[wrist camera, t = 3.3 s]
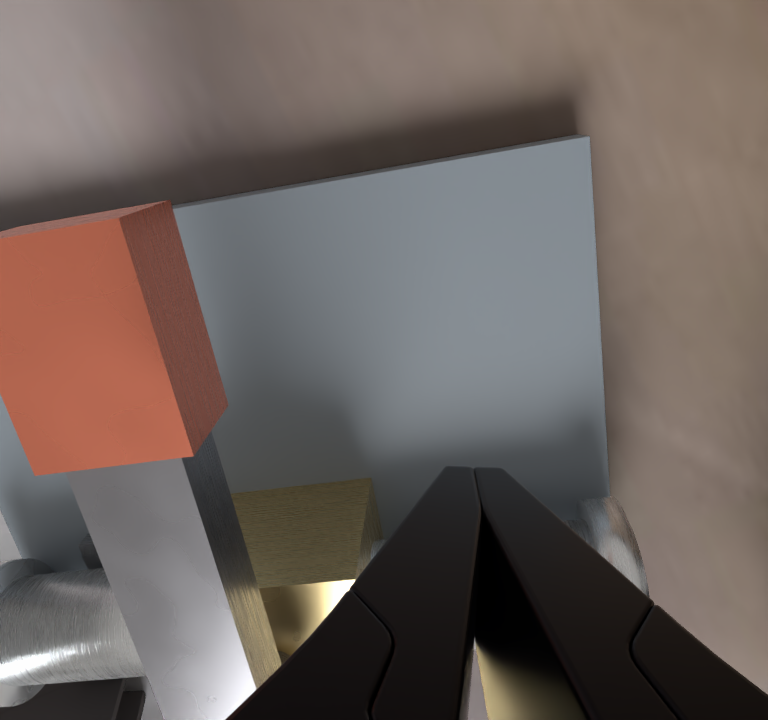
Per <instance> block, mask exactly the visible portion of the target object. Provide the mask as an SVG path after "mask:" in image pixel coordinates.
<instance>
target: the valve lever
mask: <svg viewBox="0 0 768 720" xmlns="http://www.w3.org/2000/svg"><path fill="white" fill-rule="evenodd" d="M0 394H1V397H2V399H3V402H4V404H5V406H6V409H7V411H8V413H9V416H10V418H11V421H12V423H13V425H14V428H15V430H16V433H17V435H18V437H19V440H20V442H21V444H22V447H23V449H24V452H25V454H26V456H27V459H28V461H29V464H30V466H31V468H32V471H33V473H34V475H35V476H38V475H46V474H55V473H63V472H65V473H66V476H67V478H68V481H69V483H70V486H71V488H72V491H73V493H74V496H75V498H76V501H77V503H78V506H79V508H80V511H81V513H82V516H83V518H84V521H85V523H86V526H87V528H88V531H89V533H90V536H91V538H92V541H93V543H94V546H95V548H96V551H97V553H98V556H99V558H100V561H101V563H102V566H103V568H104V571H105V573H106V576H107V578H108V581H109V583H110V586H111V588H112V591H113V593H114V596H115V598H116V601H117V603H118V606H119V608H120V611H121V613H122V616H123V618H124V621H125V623H126V626H127V628H128V631H129V633H130V636H131V638H132V641H133V643H134V646H135V648H136V651H137V653H138V656H139V658H140V661H141V663H142V666H143V668H144V671H145V673H146V676H147V678H148V681H149V683H150V686H151V688H152V691H153V693H154V696H155V698H156V701H157V703H158V706H159V708H160V711H161V713H162V716H163V718H164V720H225V719H226V718H227V717H228V716H229V715H230V714H231V713H232V712H234V711H235V710H236V709H237V708H238V707H239V706H240V705H241V704H242V703H243V702H244V701H245V700H246V699H247V698H248V697H249V696H250V695H251V694H252V693H253V692H254V691H255V690H256V689H257V688H258V687H259V686H260V685H262V684H263V683H264V682H265V681H266V680H267V679H268V678H269V677H270V676H271V675H272V674H273V673H274V672H275V671H276V670H277V669H278V668H279V667H280V666H281V665H282V664H281V661H280V657H279V654H278V651H277V647H276V644H275V641H274V637H273V634H272V631H271V627H270V624H269V621H268V617H267V614H266V611H265V607H264V604H263V601H262V597H261V594H260V591H259V587H258V584H257V581H256V577H255V574H254V571H253V567H252V564H251V561H250V557H249V554H248V551H247V547H246V544H245V541H244V537H243V534H242V530H241V527H240V524H239V520H238V517H237V514H236V510H235V507H234V504H233V500H232V497H231V494H230V490H229V487H228V484H227V480H226V477H225V474H224V470H223V467H222V464H221V460H220V457H219V454H218V450H217V447H216V444H215V440H214V437H213V434H212V429H213V427H214V426H215V424H216V423H217V421H218V420H219V418H220V417H221V416H222V414H223V413H224V411H225V410H226V408H227V407H228V401H227V398H226V394H225V391H224V387H223V384H222V380H221V377H220V373H219V370H218V366H217V363H216V359H215V356H214V352H213V349H212V345H211V342H210V338H209V335H208V331H207V328H206V324H205V321H204V317H203V313H202V310H201V306H200V303H199V299H198V296H197V292H196V289H195V285H194V282H193V278H192V275H191V271H190V268H189V264H188V261H187V257H186V254H185V250H184V247H183V243H182V240H181V236H180V233H179V229H178V226H177V222H176V219H175V215H174V212H173V208H172V204H171V201H170V200H166V201H161V202H155V203H149V204H144V205H138V206H132V207H127V208H121V209H115V210H110V211H104V212H98V213H93V214H87V215H81V216H76V217H70V218H64V219H59V220H53V221H47V222H42V223H36V224H30V225H25V226H19V227H15V228H12V229H8V230H5V231H1V232H0Z"/></svg>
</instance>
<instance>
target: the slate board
mask: <svg viewBox="0 0 768 720" xmlns="http://www.w3.org/2000/svg"><path fill="white" fill-rule="evenodd" d="M172 208H173V212H174V215H175V219H176V222H177V226H178V229H179V233H180V236H181V240H182V243H183V247H184V250H185V254H186V257H187V261H188V264H189V268H190V271H191V275H192V278H193V282H194V285H195V289H196V292H197V296H198V299H199V303H200V306H201V310H202V313H203V317H204V321H205V324H206V328H207V331H208V335H209V338H210V342H211V345H212V349H213V352H214V356H215V359H216V363H217V366H218V370H219V373H220V377H221V380H222V384H223V387H224V391H225V394H226V398H227V401H228V407H227V408H226V410H225V411H224V413H223V414H222V416H221V417H220V418H219V420H218V421H217V423H216V424H215V426H214V427H213V429H212V434H213V437H214V440H215V444H216V447H217V450H218V454H219V457H220V460H221V464H222V467H223V470H224V474H225V477H226V480H227V484H228V487H229V490H230V494H232V493H241V492H249V491H258V490H267V489H275V488H284V487H293V486H302V485H310V484H319V483H328V482H336V481H345V480H354V479H363V478H371V479H372V484H373V489H374V493H375V498H376V503H377V508H378V513H379V518H380V522H381V527H382V532H383V537H384V539H388V538H389V537H390V535H391V534H392V533H393V532H394V530H395V529H396V528H397V526H398V525H399V524H400V523H401V521H402V520H403V519H404V517H405V516H406V515H407V514H408V512H409V511H410V510H411V508H412V507H413V506H414V505H415V503H416V502H417V501H418V500H419V498H420V497H421V496H422V494H423V493H424V492H425V491H426V489H427V488H428V487H429V485H430V484H431V483H432V482H433V480H434V479H435V478H436V476H437V475H438V474H439V473H440V471H441V470H442V469H443V468H444V467H445V466H448V465H450V466H470V467H472V468H475V467H500V468H503V469H504V470H506V471H507V472H508V473H509V474H510V475H511V476H512V477H514V478H515V479H516V480H517V481H518V482H519V483H520V484H522V485H523V486H524V487H525V488H526V489H527V490H528V491H529V492H531V493H532V494H533V495H534V496H535V497H536V498H537V499H538V500H540V501H541V502H542V503H543V504H544V505H545V506H546V507H548V508H549V509H550V510H551V511H552V512H553V513H554V514H555V515H557V516H558V517H559V518H560V519H561V520H562V521H566V520H576V519H577V518H576V513H577V503H578V501H579V500H583V499H593V498H602V497H610V487H609V469H608V452H607V434H606V416H605V399H604V381H603V364H602V346H601V328H600V311H599V293H598V275H597V258H596V240H595V223H594V205H593V187H592V170H591V152H590V136H585V135H579V134H577V135H571V136H565V137H560V138H554V139H548V140H543V141H537V142H531V143H525V144H520V145H514V146H508V147H503V148H497V149H491V150H486V151H480V152H474V153H468V154H463V155H457V156H451V157H446V158H440V159H434V160H429V161H423V162H417V163H411V164H406V165H400V166H394V167H389V168H383V169H377V170H371V171H366V172H360V173H354V174H349V175H343V176H337V177H332V178H326V179H320V180H314V181H309V182H303V183H297V184H292V185H286V186H280V187H274V188H269V189H263V190H257V191H252V192H246V193H240V194H235V195H229V196H223V197H217V198H212V199H206V200H200V201H195V202H189V203H183V204H178V205H172ZM0 510H1V512H2V515H3V517H4V519H5V521H6V523H7V526H8V528H9V530H10V532H11V535H12V537H13V539H14V541H15V543H16V546H17V548H18V550H19V552H20V555H21V557H22V559H27V558H31V559H37V560H40V561H42V562H44V563H46V564H47V565H48V566H50V568H51V569H52V570H53V571H54V572H55V573H59V572H68V571H78V570H88V568H87V566H86V563H85V561H84V558H83V556H82V553H81V551H80V549H79V546H78V545H79V544H80V542H81V541H82V540H83V539H84V538H85V536H86V535H87V534H88V533H89V531H88V528H87V526H86V523H85V521H84V518H83V516H82V513H81V511H80V508H79V506H78V503H77V501H76V498H75V496H74V493H73V491H72V488H71V486H70V483H69V481H68V478H67V476H66V473H65V472H63V473H55V474H46V475H38V476H35V475H34V473H33V471H32V468H31V466H30V464H29V461H28V459H27V456H26V454H25V452H24V449H23V447H22V444H21V442H20V440H19V437H18V435H17V433H16V430H15V428H14V425H13V423H12V421H11V418H10V416H9V413H8V411H7V409H6V406H5V404H4V402H3V399H2V397H1V394H0Z"/></svg>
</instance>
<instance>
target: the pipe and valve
mask: <svg viewBox="0 0 768 720" xmlns="http://www.w3.org/2000/svg"><path fill="white" fill-rule="evenodd" d="M231 497H232V500H233V504H234V507H235V510H236V514H237V517H238V520H239V524H240V527H241V530H242V534H243V537H244V541H245V544H246V547H247V551H248V554H249V557H250V561H251V564H252V567H253V571H254V574H255V577H256V581H257V584H258V587H259V591H260V594H261V597H262V601H263V604H264V607H265V611H266V614H267V617H268V621H269V624H270V627H271V631H272V634H273V637H274V641H275V644H276V647H277V651H278V654H279V657H280V661H281V664H283V663H284V662H285V661H286V660H287V659H288V658H289V657H290V656H291V655H292V654H293V653H294V652H295V651H296V650H297V649H298V648H299V647H300V646H301V645H302V644H303V643H304V642H305V641H306V640H307V639H308V638H309V636H310V635H311V634H312V633H313V632H314V631H315V630H316V628H317V627H318V626H319V625H320V624H321V622H322V621H323V620H324V619H325V618H326V617H327V615H328V614H329V613H330V612H331V611H332V609H333V608H334V607H335V606H336V604H337V603H338V602H339V600H340V599H341V598H342V596H343V595H344V594H345V593H346V592H347V591H349V588H350V587H351V585H352V584H353V583H354V582H355V580H356V579H357V578H358V576H359V575H360V574H361V573H362V571H363V570H364V569H365V567H366V566H367V565H368V564H369V562H370V561H371V560H372V558H373V557H374V556H375V555H376V553H377V552H378V551H379V550H380V548H381V547H382V546H383V544H384V543H385V542H386V541H387V539H384V537H383V532H382V527H381V522H380V518H379V513H378V508H377V503H376V498H375V493H374V489H373V484H372V479H371V478H363V479H354V480H345V481H336V482H328V483H319V484H310V485H302V486H293V487H284V488H275V489H267V490H258V491H249V492H241V493H232V494H231ZM576 518H577V519H576V520H566V521H563V522H564V523H566V524H567V525H568V526H569V527H570V528H571V529H572V530H574V531H575V532H576V533H577V534H578V535H579V536H580V537H581V538H583V539H584V540H585V541H586V542H587V543H588V544H589V545H590V546H592V547H593V548H594V549H595V550H596V551H597V552H598V553H599V554H601V555H602V556H603V557H604V558H605V559H606V560H607V561H609V562H610V563H611V564H612V565H613V566H614V567H615V568H616V569H618V570H619V571H620V572H621V573H622V574H623V575H624V576H625V577H627V578H628V579H629V580H630V581H631V582H632V583H633V584H635V585H636V586H637V587H638V588H639V589H640V590H641V591H642V592H644V593H645V594H646V595H647V596H648V597H649V591H648V585H647V579H646V574H645V570H644V565H643V561H642V557H641V554H640V550H639V547H638V544H637V541H636V538H635V535H634V533H633V530H632V528H631V526H630V524H629V522H628V520H627V518H626V516H625V513H624V511H623V509H622V507H621V505H620V504H619V502H618V501H617V499H616V498H615V497H602V498H593V499H583V500H579V501H578V503H577V513H576ZM78 546H79V549H80V551H81V553H82V556H83V558H84V561H85V563H86V566H87V568H88V570H78V571H68V572H59V573H55V572H54V571H53V570H52V569H51V568H50V566H48V565H47V564H46V563H44V562H42V561H40V560H37V559H31V558H27V559H18V560H8V561H0V707H10V706H16V705H20V704H22V703H24V702H26V701H28V700H29V699H31V698H32V697H34V696H35V695H36V694H37V693H38V692H39V691H40V690H41V689H42V688H43V686H44V685H45V684H53V683H65V682H78V681H90V680H103V679H116V678H128V677H141V676H146V673H145V671H144V668H143V666H142V663H141V661H140V658H139V656H138V653H137V651H136V648H135V646H134V643H133V641H132V638H131V636H130V633H129V631H128V628H127V626H126V623H125V621H124V618H123V616H122V613H121V611H120V608H119V606H118V603H117V601H116V598H115V596H114V593H113V591H112V588H111V586H110V583H109V581H108V578H107V576H106V573H105V571H104V568H103V566H102V563H101V561H100V558H99V556H98V553H97V551H96V548H95V546H94V543H93V541H92V538H91V536H90V533H88V534H87V535H86V536H85V538H84V539H83V540H82V541H81V542H80V544H79V545H78ZM474 650H476V644H475V639H474Z"/></svg>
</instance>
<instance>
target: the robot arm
mask: <svg viewBox="0 0 768 720" xmlns="http://www.w3.org/2000/svg"><path fill="white" fill-rule="evenodd" d="M474 639H475V644H476V651H477V657H478V662H479V668H480V674H481V680H482V686H483V691H484V697H485V703H486V709H487V714H488V720H768V695H767V694H766V693H765V692H763V691H762V690H761V689H759V688H758V687H757V686H756V685H754V684H753V683H752V682H750V681H749V680H748V679H746V678H745V677H744V676H743V675H741V674H740V673H739V672H737V671H736V670H735V669H734V668H732V667H731V666H730V665H728V664H727V663H726V662H725V661H723V660H722V659H721V658H719V657H718V656H717V655H716V654H714V653H713V652H712V651H711V650H710V649H709V648H707V647H706V646H705V645H704V644H703V643H701V642H700V641H699V640H698V639H697V638H695V637H694V636H693V635H692V634H691V633H690V632H688V631H687V630H686V629H685V628H684V627H682V626H681V625H680V624H679V623H678V622H677V621H676V620H674V619H673V618H672V617H671V616H670V615H669V614H668V613H667V612H665V611H664V610H663V609H662V608H661V607H660V606H658V605H654V602H653V600H651V599H650V598H649V597H648V596H647V595H646V594H645V593H644V592H642V591H641V590H640V589H639V588H638V587H637V586H636V585H635V584H633V583H632V582H631V581H630V580H629V579H628V578H627V577H625V576H624V575H623V574H622V573H621V572H620V571H619V570H618V569H616V568H615V567H614V566H613V565H612V564H611V563H610V562H609V561H607V560H606V559H605V558H604V557H603V556H602V555H601V554H599V553H598V552H597V551H596V550H595V549H594V548H593V547H592V546H590V545H589V544H588V543H587V542H586V541H585V540H584V539H583V538H581V537H580V536H579V535H578V534H577V533H576V532H575V531H574V530H572V529H571V528H570V527H569V526H568V525H567V524H566V523H564V522H563V521H562V520H561V519H560V518H559V517H558V516H557V515H555V514H554V513H553V512H552V511H551V510H550V509H549V508H548V507H546V506H545V505H544V504H543V503H542V502H541V501H540V500H538V499H537V498H536V497H535V496H534V495H533V494H532V493H531V492H529V491H528V490H527V489H526V488H525V487H524V486H523V485H522V484H520V483H519V482H518V481H517V480H516V479H515V478H514V477H512V476H511V475H510V474H509V473H508V472H507V471H506V470H504V469H503V468H500V467H475V468H472V467H470V466H450V465H448V466H445V467H444V468H443V469H442V470H441V471H440V473H439V474H438V475H437V476H436V478H435V479H434V480H433V482H432V483H431V484H430V485H429V487H428V488H427V489H426V491H425V492H424V493H423V494H422V496H421V497H420V498H419V500H418V501H417V502H416V503H415V505H414V506H413V507H412V508H411V510H410V511H409V512H408V514H407V515H406V516H405V517H404V519H403V520H402V521H401V523H400V524H399V525H398V526H397V528H396V529H395V530H394V532H393V533H392V534H391V535H390V537H389V538H388V539H387V541H386V542H385V543H384V544H383V546H382V547H381V548H380V550H379V551H378V552H377V553H376V555H375V556H374V557H373V558H372V560H371V561H370V562H369V564H368V565H367V566H366V567H365V569H364V570H363V571H362V573H361V574H360V575H359V576H358V578H357V579H356V580H355V582H354V583H353V584H352V585H351V587H350V588H349V591H347V592H346V593H345V594H344V595H343V596H342V598H341V599H340V600H339V602H338V603H337V604H336V606H335V607H334V608H333V609H332V611H331V612H330V613H329V614H328V615H327V617H326V618H325V619H324V620H323V621H322V622H321V624H320V625H319V626H318V627H317V628H316V630H315V631H314V632H313V633H312V634H311V635H310V636H309V638H308V639H307V640H306V641H305V642H304V643H303V644H302V645H301V646H300V647H299V648H298V649H297V650H296V651H295V652H294V653H293V654H292V655H291V656H290V657H289V658H288V659H287V660H286V661H285V662H284V663H283V664H282V665H281V666H280V667H279V668H278V669H277V670H276V671H275V672H274V673H273V674H272V675H271V676H270V677H269V678H268V679H267V680H266V681H265V682H264V683H263V684H262V685H260V686H259V687H258V688H257V689H256V690H255V691H254V692H253V693H252V694H251V695H250V696H249V697H248V698H247V699H246V700H245V701H244V702H243V703H242V704H241V705H240V706H239V707H238V708H237V709H236V710H235V711H234V712H232V713H231V714H230V715H229V716H228V717H227V718H226V719H225V720H468V709H469V697H470V686H471V675H472V663H473V652H474Z"/></svg>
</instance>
